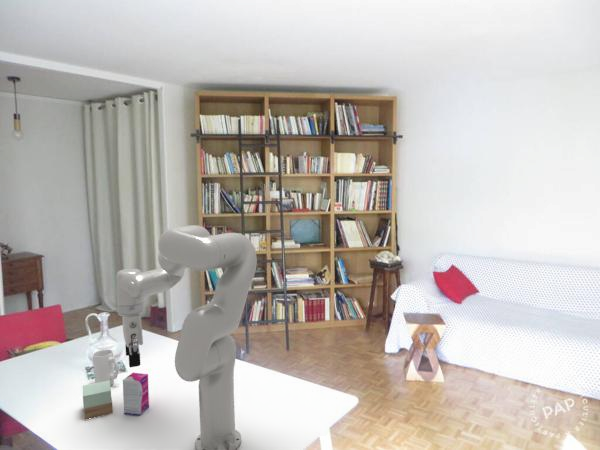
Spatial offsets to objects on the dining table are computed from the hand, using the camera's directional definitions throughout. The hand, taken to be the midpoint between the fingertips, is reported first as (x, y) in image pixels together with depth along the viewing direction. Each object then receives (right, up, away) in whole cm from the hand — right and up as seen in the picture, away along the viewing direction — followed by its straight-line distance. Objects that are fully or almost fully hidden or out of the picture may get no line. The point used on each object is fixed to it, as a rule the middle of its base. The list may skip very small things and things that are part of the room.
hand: (132, 360), depth 139 cm
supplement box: (+1, -17, +1) cm, 17 cm away
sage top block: (-12, -13, +1) cm, 18 cm away
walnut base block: (-12, -17, +2) cm, 21 cm away
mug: (-16, -15, +20) cm, 30 cm away
